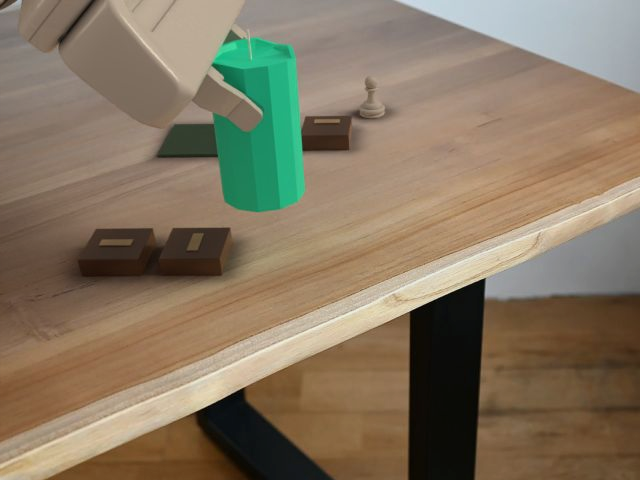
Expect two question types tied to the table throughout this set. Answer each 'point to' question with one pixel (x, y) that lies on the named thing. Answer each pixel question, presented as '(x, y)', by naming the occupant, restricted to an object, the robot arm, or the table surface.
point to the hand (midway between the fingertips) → (264, 103)
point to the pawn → (371, 101)
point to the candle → (261, 127)
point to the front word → (138, 244)
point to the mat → (190, 141)
